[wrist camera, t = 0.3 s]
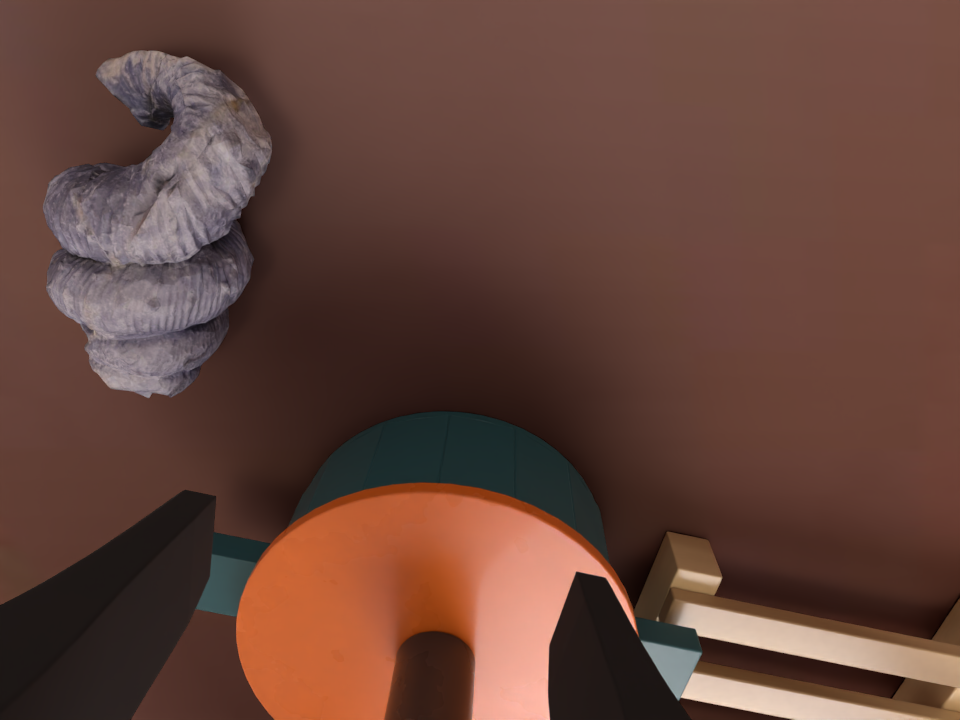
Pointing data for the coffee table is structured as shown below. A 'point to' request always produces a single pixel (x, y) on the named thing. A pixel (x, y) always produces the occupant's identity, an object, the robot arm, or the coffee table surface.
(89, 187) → the seashell
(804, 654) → the rack
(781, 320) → the coffee table surface
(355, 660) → the lid
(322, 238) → the coffee table surface
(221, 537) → the pot
